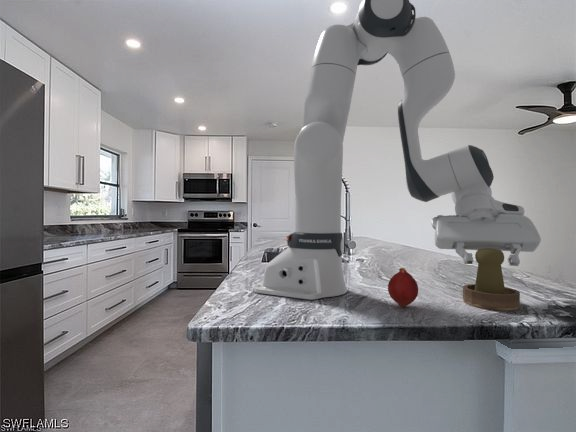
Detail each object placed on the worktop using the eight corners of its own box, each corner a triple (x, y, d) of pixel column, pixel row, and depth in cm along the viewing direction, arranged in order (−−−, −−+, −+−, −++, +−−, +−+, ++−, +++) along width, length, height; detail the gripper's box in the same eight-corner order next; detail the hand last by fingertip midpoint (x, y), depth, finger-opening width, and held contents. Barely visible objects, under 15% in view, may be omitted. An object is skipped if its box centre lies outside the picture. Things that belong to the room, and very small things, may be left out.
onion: (393, 301, 70) (393, 264, 70) (421, 306, 66) (421, 267, 66) (383, 307, 65) (384, 267, 65) (413, 313, 62) (414, 271, 62)
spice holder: (470, 308, 65) (470, 293, 65) (458, 296, 74) (458, 282, 74) (528, 312, 62) (528, 296, 62) (508, 299, 72) (508, 285, 72)
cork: (512, 305, 65) (512, 250, 65) (479, 303, 66) (479, 249, 66) (499, 298, 71) (498, 247, 71) (469, 296, 72) (468, 247, 72)
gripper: (432, 206, 78) (439, 251, 68) (531, 206, 72) (554, 255, 63) (428, 224, 82) (435, 269, 72) (522, 225, 77) (542, 274, 67)
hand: (491, 263), depth 68 cm, fingers open, 7 cm apart
